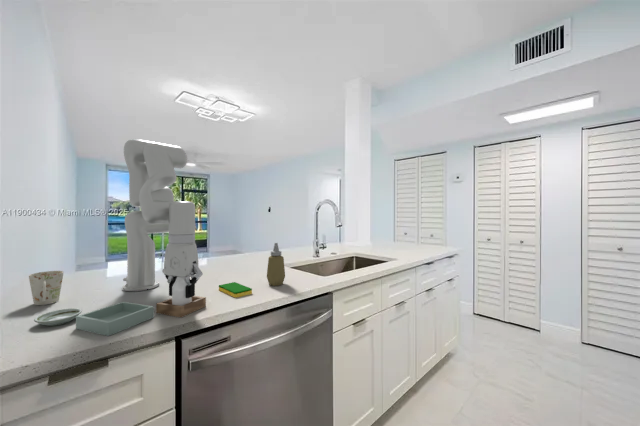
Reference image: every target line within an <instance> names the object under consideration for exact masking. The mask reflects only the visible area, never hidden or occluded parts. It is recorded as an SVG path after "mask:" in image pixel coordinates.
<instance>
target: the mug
mask: <svg viewBox="0 0 640 426" xmlns="http://www.w3.org/2000/svg"><path fill="white" fill-rule="evenodd" d="M63 277H64V271H63V270H50V271H49V270H47V271H41V272H35V273H30V274H29V275H28V280H29V286H30V291H31V296H32V303H33V306H44V305H49V304H54V303H56V302H59V300H60V296H61V289H62V283H63Z"/></svg>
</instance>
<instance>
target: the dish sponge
mask: <svg viewBox="0 0 640 426" xmlns="http://www.w3.org/2000/svg"><path fill="white" fill-rule="evenodd" d="M252 290H253V288H252V287H249V286H246V285H244V284H241V283H239V282H236V281H232V282H228V283H224V284H219V285H218V291H220V292H221V293H224V294H226V295H228V296H231V297H232V298H234V299H236V298H241V297H245V296H249V295H252V294H253V291H252Z"/></svg>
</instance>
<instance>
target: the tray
mask: <svg viewBox="0 0 640 426" xmlns="http://www.w3.org/2000/svg"><path fill="white" fill-rule="evenodd" d="M154 312H155V305H154V306H153V305H147V304H141V303H134V302H128V301H121V302H118V303H114V304H111V305H109V306H105V307H102V308H99V309H98V308H97V309H96V310H91V311H90V312H86V313H81V314H79V315H78V316H76V318H75V330H79V331H80V330H81V331H85V332H90V333H94V334H97V335H103V336H107V337H109V336H111V335H114V334H117V333H119V332H122V331H124V330H126V329H130V328H132V327H134V326H136V325H138V324H139V325H140V324H141V323H144V322H146V321H149V320H151V319H153V318H154V317H155V313H154Z"/></svg>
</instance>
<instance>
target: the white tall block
mask: <svg viewBox="0 0 640 426" xmlns="http://www.w3.org/2000/svg"><path fill="white" fill-rule="evenodd" d="M186 285H187V282H186V279H185V277H177V279H176V281H175V283H174V284H173V286H172V296H171V298H172V305H179V306H183V305H185V304H187V303H190V302H192V297H190V298H186Z"/></svg>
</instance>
